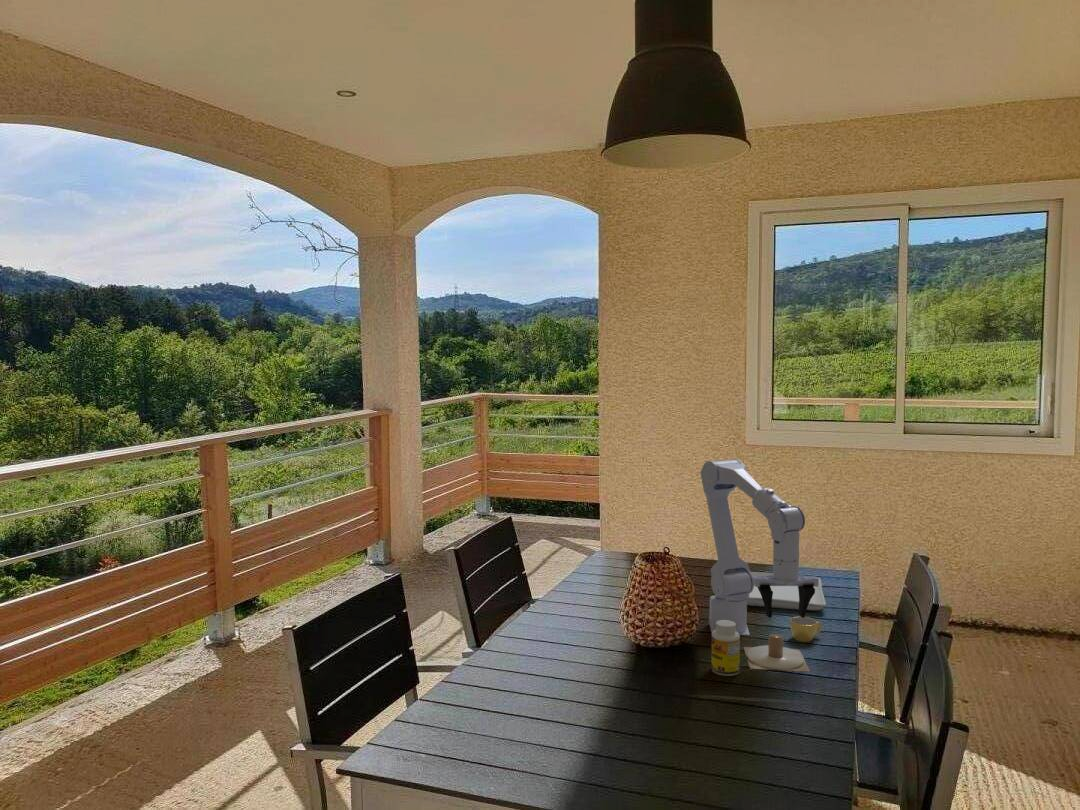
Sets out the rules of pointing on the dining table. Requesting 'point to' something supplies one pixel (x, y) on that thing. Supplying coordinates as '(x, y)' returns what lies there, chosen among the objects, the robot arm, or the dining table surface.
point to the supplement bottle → (725, 648)
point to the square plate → (786, 596)
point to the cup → (804, 628)
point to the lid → (775, 655)
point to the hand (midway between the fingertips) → (785, 616)
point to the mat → (753, 666)
